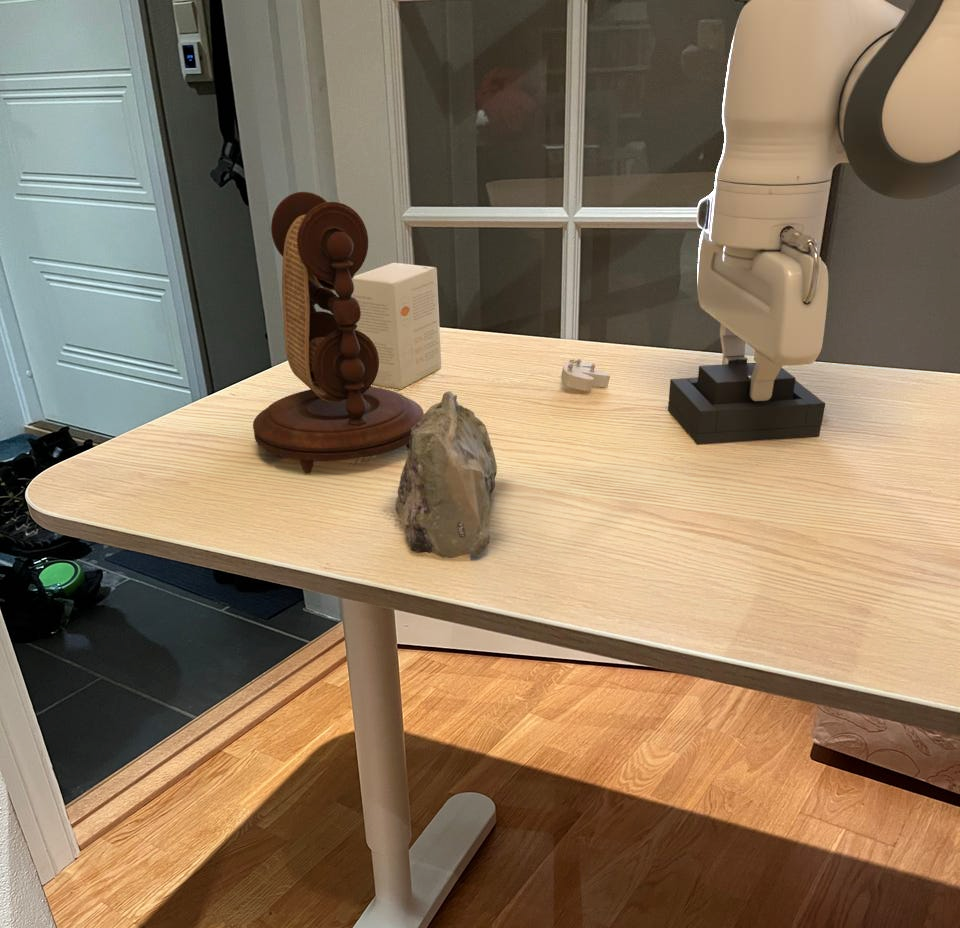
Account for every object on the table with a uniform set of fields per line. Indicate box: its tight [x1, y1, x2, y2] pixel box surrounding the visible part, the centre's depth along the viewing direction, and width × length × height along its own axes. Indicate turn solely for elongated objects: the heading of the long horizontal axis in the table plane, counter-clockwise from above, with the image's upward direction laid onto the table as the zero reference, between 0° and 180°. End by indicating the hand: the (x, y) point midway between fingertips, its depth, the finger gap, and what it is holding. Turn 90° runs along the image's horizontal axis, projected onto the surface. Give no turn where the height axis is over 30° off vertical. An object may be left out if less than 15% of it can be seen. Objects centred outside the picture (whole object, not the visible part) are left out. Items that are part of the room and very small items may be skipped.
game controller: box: [490, 358, 611, 392], centre depth 93 cm, size 6×12×3 cm, turn 102°
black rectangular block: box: [697, 362, 796, 405], centre depth 83 cm, size 7×5×3 cm
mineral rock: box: [394, 391, 498, 559], centre depth 66 cm, size 13×11×10 cm
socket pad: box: [667, 376, 826, 446], centre depth 84 cm, size 11×9×3 cm
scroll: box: [252, 191, 425, 475], centre depth 77 cm, size 15×15×20 cm
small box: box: [351, 262, 442, 390], centre depth 96 cm, size 8×6×10 cm
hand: (744, 386), depth 83 cm, fingers closed on black rectangular block, 5 cm apart
